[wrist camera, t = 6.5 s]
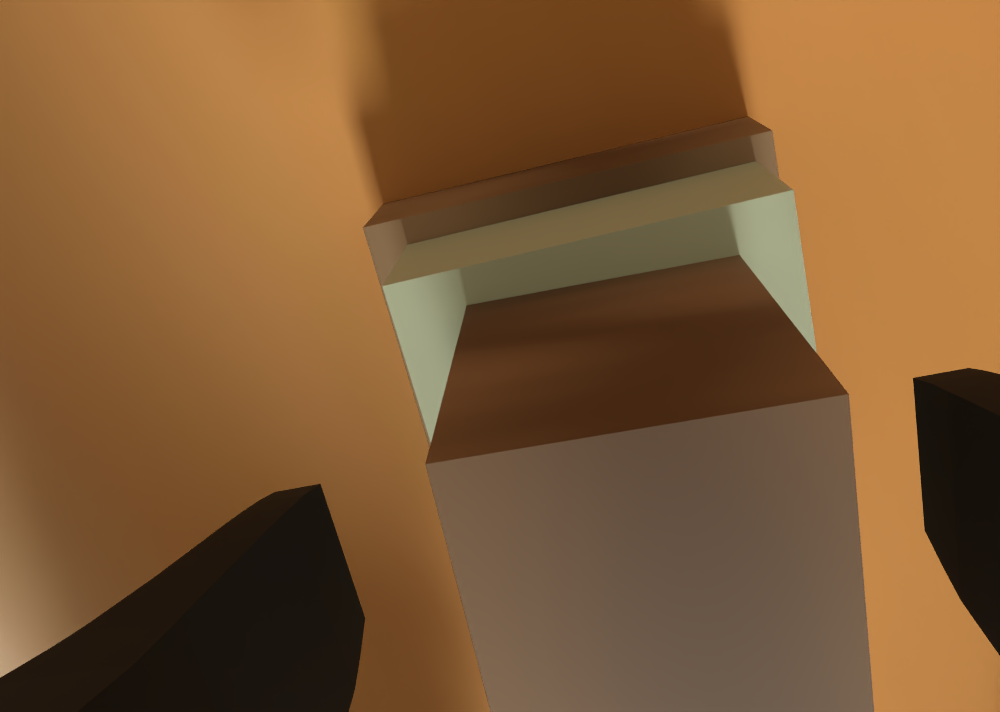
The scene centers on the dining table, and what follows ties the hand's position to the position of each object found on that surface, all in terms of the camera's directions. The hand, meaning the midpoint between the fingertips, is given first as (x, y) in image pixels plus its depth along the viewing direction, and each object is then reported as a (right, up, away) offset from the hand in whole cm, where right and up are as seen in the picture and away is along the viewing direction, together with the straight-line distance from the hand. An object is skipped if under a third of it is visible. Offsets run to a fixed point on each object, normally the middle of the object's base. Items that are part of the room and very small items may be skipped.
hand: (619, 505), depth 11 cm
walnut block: (0, +1, +3) cm, 3 cm away
